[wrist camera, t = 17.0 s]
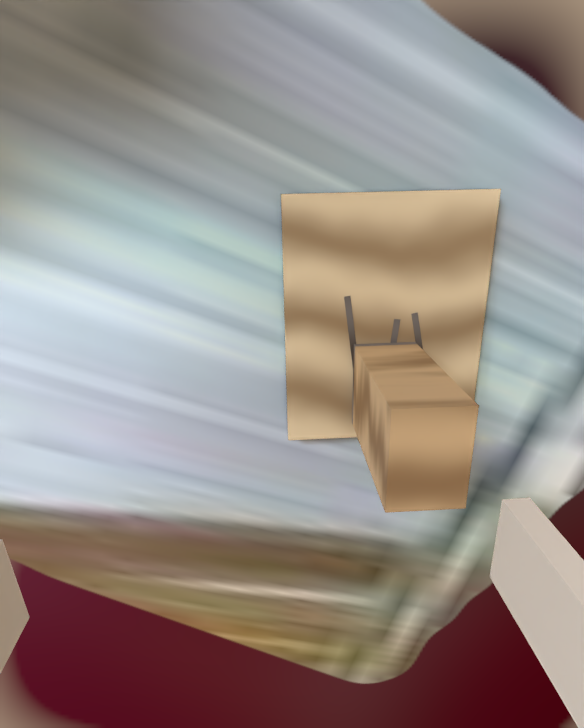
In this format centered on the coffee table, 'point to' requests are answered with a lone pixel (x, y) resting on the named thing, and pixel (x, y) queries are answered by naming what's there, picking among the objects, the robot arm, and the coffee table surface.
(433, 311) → the board
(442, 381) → the block
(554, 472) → the coffee table surface
